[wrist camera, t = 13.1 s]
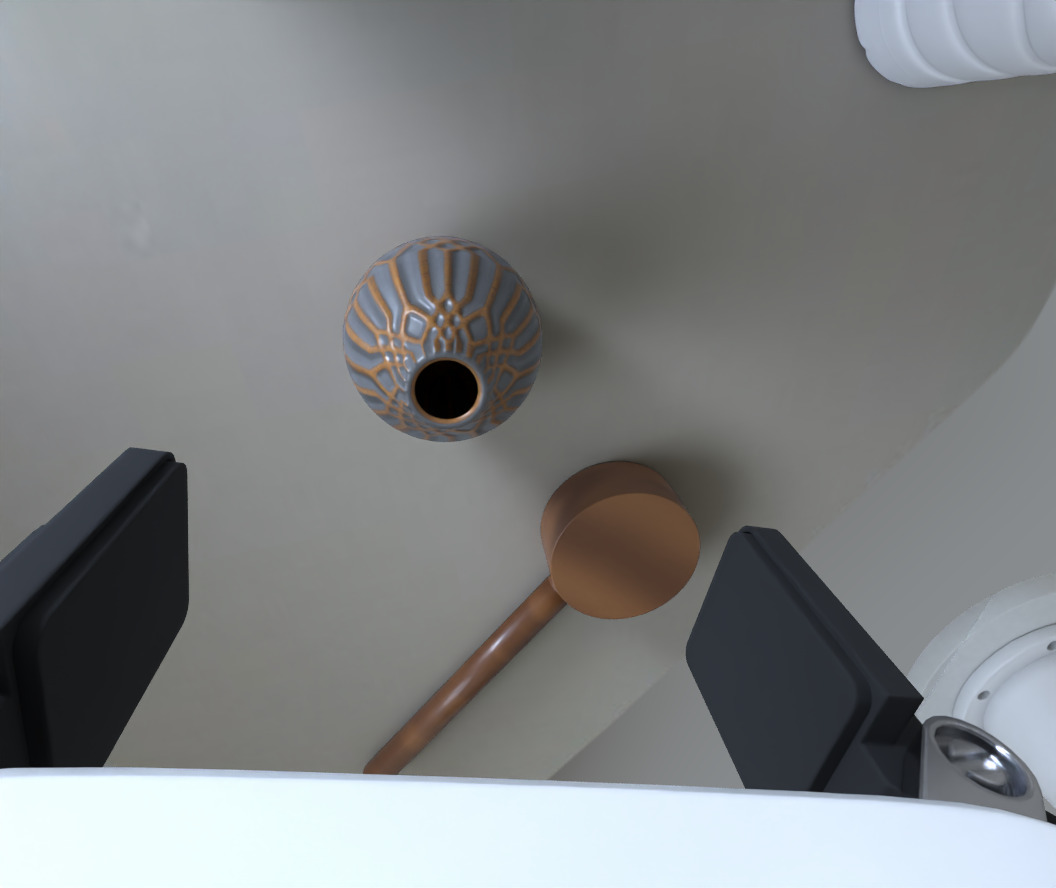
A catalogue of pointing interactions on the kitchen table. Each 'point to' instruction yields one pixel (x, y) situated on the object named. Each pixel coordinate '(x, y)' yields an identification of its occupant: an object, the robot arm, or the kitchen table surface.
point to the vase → (442, 339)
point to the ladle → (575, 581)
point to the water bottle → (957, 39)
